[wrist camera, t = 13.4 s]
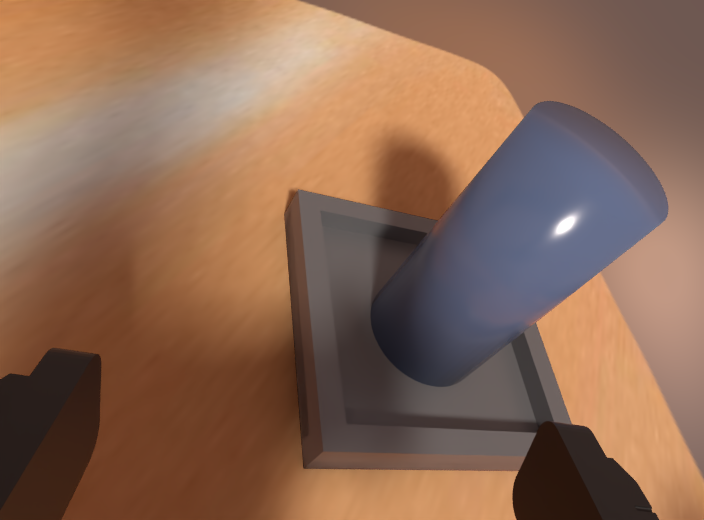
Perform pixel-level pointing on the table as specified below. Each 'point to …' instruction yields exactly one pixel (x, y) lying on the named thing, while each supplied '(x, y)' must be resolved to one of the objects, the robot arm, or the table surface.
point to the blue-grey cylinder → (516, 244)
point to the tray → (379, 373)
